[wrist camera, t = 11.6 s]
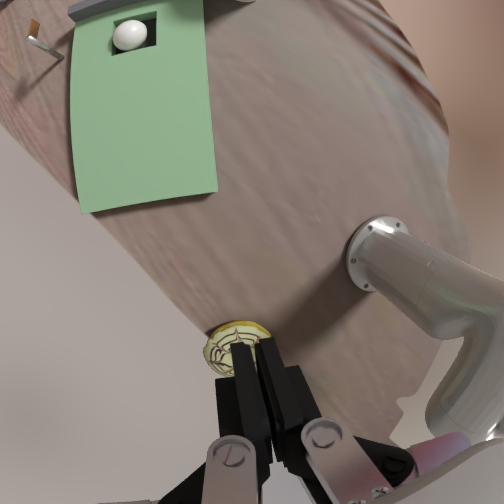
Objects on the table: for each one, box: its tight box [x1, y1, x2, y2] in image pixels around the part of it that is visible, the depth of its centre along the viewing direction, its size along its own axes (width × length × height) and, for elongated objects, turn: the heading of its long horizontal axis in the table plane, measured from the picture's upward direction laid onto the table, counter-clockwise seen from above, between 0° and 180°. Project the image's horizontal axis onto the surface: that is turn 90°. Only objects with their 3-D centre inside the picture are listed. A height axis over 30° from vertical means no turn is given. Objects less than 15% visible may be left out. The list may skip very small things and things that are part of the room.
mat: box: [68, 0, 218, 214], centre depth 26 cm, size 18×30×5 cm, turn 5°
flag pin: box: [25, 19, 64, 61], centre depth 19 cm, size 1×4×10 cm, turn 6°
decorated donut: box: [203, 320, 271, 377], centre depth 41 cm, size 10×11×4 cm
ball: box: [113, 20, 147, 51], centre depth 23 cm, size 4×4×4 cm
